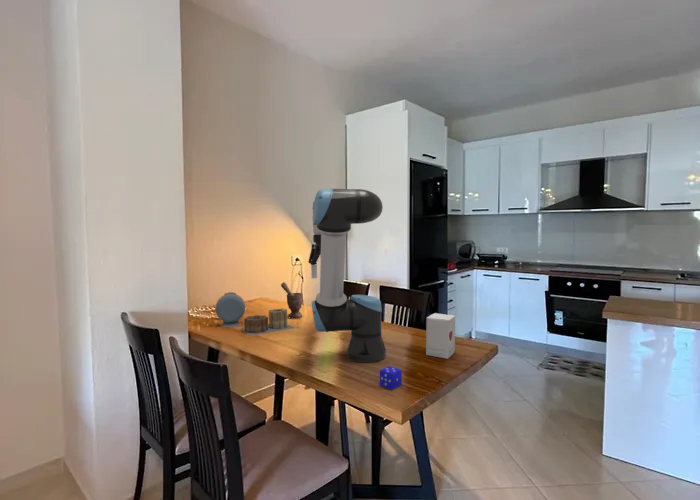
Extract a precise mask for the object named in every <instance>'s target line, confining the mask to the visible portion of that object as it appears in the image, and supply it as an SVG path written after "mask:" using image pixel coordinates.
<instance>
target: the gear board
mask: <svg viewBox="0 0 700 500" xmlns="http://www.w3.org/2000/svg"><path fill="white" fill-rule="evenodd" d="M292 329H295V327H293V326H291V325H290V324H288V323H287V327H284V328H283V329H274V328H269V323H268V330H266V332H261V333H255V334H254V333H247V331H245V327H243V328H240V331H243V332H244V333H245V334H247V335H248V336H251V337H253V336H257V335H263V334H268V333H274V332H280V331H286V330H292Z"/></svg>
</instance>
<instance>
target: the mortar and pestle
mask: <svg viewBox="0 0 700 500" xmlns="http://www.w3.org/2000/svg"><path fill="white" fill-rule="evenodd" d="M280 287H281V288H282V289H283V291H285V293H287V294H286V303H287V306H288V307H287V308H288V309H289V310H290V313H289V314H288V318H289V317H290V318H289V319H291V318H295V319H300V317H301V318H302V317H303V315H302V314H303V313H301V312H300V310H301V309H302V307H303V306H302V305H303V301H304V300H303V293H302V292H291V290H290V287H288V284H287V283H286V282H282V283H281V284H280Z"/></svg>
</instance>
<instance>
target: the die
mask: <svg viewBox="0 0 700 500" xmlns="http://www.w3.org/2000/svg"><path fill="white" fill-rule="evenodd" d="M402 372H403V371H402V369H400V368H397V367H393V366H391V365H389V366H386V367H384V368H382V369H380V370H379V386H381V387H383V388H386V389H388V390H391V391H392V390H395V389H397V388H398V387H400V386H402V384H403V383H402V378H403V376H402Z"/></svg>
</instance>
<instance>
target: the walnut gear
mask: <svg viewBox="0 0 700 500" xmlns="http://www.w3.org/2000/svg"><path fill="white" fill-rule="evenodd" d="M243 323H244V328H245V331H247V333H254V334H255V333H261V332H266V330H268V324H269V316H266V315H265V314H264V315H259V314H255V315H249V316H246V317H244V322H243ZM247 333H246V334H247Z"/></svg>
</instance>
